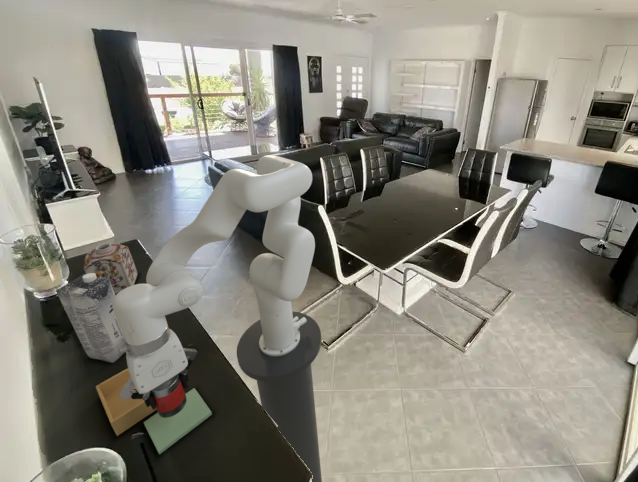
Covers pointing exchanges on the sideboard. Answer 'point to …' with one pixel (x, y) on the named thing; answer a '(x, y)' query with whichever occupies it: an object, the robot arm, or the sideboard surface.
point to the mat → (177, 422)
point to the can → (169, 397)
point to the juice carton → (93, 315)
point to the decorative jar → (112, 265)
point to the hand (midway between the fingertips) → (168, 394)
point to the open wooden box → (121, 403)
